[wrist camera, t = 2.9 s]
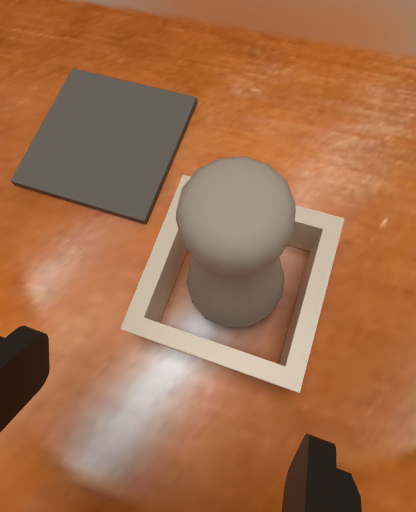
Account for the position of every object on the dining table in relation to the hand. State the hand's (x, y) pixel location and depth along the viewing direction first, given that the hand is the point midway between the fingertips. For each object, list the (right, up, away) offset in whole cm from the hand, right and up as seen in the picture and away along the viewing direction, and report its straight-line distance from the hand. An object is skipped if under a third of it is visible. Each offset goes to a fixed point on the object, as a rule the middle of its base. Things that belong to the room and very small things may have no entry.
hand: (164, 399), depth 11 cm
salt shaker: (+3, +2, +14) cm, 15 cm away
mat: (-7, +13, +18) cm, 23 cm away
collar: (+3, +2, +14) cm, 14 cm away
